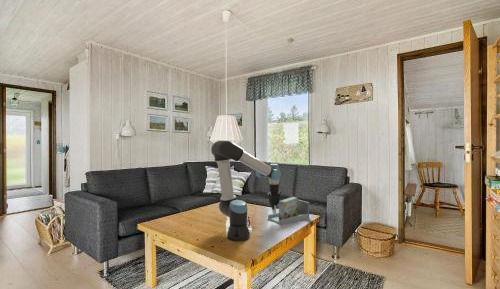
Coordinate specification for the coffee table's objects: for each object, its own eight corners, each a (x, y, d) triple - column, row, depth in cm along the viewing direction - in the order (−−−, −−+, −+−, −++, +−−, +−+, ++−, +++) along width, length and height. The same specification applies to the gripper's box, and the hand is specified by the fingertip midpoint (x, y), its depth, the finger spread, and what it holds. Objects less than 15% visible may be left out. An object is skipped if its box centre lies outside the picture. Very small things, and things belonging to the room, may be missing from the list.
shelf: (281, 224, 195) (281, 207, 195) (267, 219, 209) (267, 203, 209) (309, 218, 212) (309, 202, 212) (294, 213, 226) (294, 198, 226)
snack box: (284, 221, 200) (284, 202, 200) (278, 219, 204) (278, 200, 203) (297, 215, 216) (297, 197, 216) (291, 213, 220) (292, 196, 220)
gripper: (270, 185, 194) (270, 216, 195) (283, 183, 202) (283, 213, 202) (264, 183, 201) (264, 213, 201) (277, 182, 208) (277, 211, 208)
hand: (274, 213), depth 202 cm, fingers closed
